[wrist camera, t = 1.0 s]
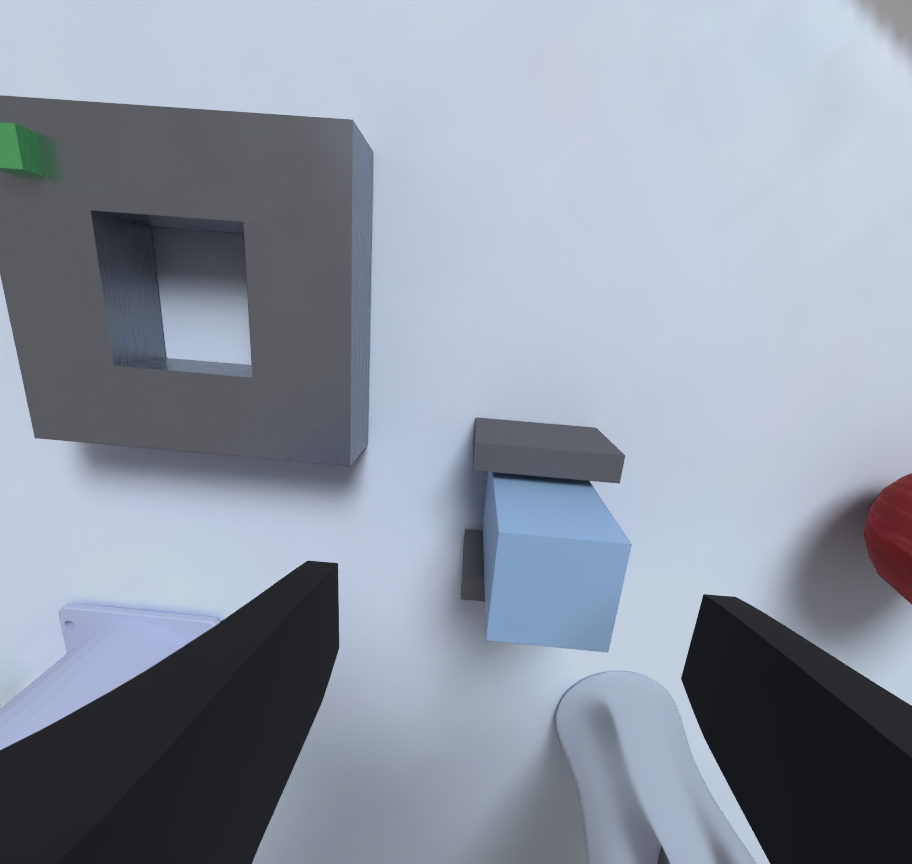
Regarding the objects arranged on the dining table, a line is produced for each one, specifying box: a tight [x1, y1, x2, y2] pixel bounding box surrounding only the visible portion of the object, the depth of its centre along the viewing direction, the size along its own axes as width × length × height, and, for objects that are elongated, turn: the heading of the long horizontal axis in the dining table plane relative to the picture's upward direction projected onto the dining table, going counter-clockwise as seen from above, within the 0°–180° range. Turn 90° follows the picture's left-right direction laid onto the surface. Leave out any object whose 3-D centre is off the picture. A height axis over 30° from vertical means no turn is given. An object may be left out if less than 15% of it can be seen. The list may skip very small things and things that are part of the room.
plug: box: [483, 472, 632, 652], centre depth 15 cm, size 4×4×7 cm
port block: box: [0, 96, 373, 466], centre depth 15 cm, size 11×12×3 cm
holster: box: [461, 418, 625, 601], centre depth 17 cm, size 6×5×4 cm
